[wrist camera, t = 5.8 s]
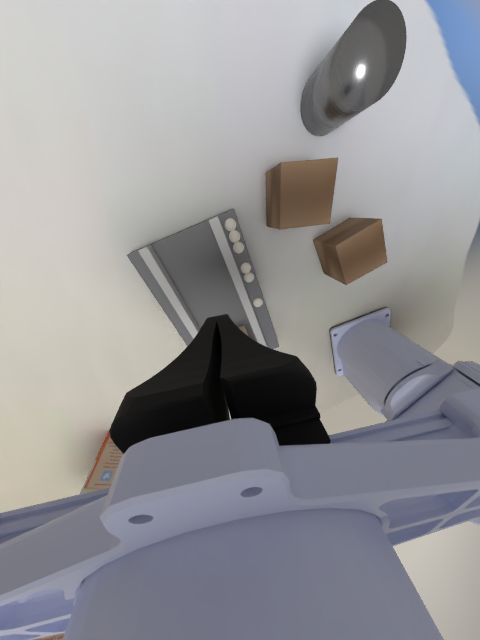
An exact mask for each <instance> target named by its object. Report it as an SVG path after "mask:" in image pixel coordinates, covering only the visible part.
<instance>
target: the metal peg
mask: <svg viewBox="0 0 480 640" xmlns="http://www.w3.org/2000/svg"><path fill="white" fill-rule="evenodd" d="M405 49H406V26H405V21H404V18H403V15H402V13H401V11H400V9H399V8H398V6H397V5H396V4H395V3H393V2H392V1H390V0H376V1H373V2H372V3H370V4H368V5H367V6H366V7H365V8H363V10H362V11H361V12H360V13H359V14H358V15H357V17H356V18H355V19H354V21H353V22H352V23H351V25H350V26H349V27H348V29H347V30H346V31H345V32H344V34H343V35H342V36H341V38H340V39H339V40H338V42H337V43H336V44H335V46H334V47H333V48H332V50H331V51H330V52H329V54H328V55H327V56H326V58H325V59H324V60H323V62H322V63H321V64H320V65H319V67H318V68H317V69H316V71H315V72H314V73H313V75H312V76H311V77H310V79H309V80H308V82H307V83H306V86H305V88H304V90H303V94H302V98H301V117H302V121H303V123H304V126H305V127H306V129H307V130H308V131H309V132H310V133H311V134H313V135H316V136H323V135H326V134H328V133H330V132H331V131H333V130H334V129H336V128H337V127H339V126H340V125H342V124H343V123H345V122H347V121H348V120H350V119H351V118H353V117H354V116H356V115H357V114H359V113H360V112H362V111H363V110H365V109H366V108H368V107H369V106H371V105H372V104H374V103H375V102H377V101H378V100H380V99H381V98H382V97H383V96H384V95H385V94H386V93H387V92H388V91H389V89H390V88H391V86H392V85H393V83H394V82H395V80H396V78H397V76H398V73H399V71H400V69H401V66H402V63H403V59H404V54H405Z"/></svg>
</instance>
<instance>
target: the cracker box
mask: <svg viewBox="0 0 480 640" xmlns="http://www.w3.org/2000/svg"><path fill="white" fill-rule="evenodd" d="M123 455H124V454H123V453H122V452H121V451H120V450H119V448H118V447H117V446H116V445H115V444H114V442H113V441H112V439H111V438H110V432H109V433H108V435H107V437H106V439H105V441H104V443H103V445H102V447H101V449H100V451H99V454H98V456H97V458H96V460H95V462H94V464H93V467H92V469H91V471H90V473H89V475H88V477H87V480H86V482H85V484H84V486H83V488H82V490H81V492H80V494H84V493H88V492H92V491H96V490H101V489H105V488H109V487H111V484H112V482H113V479H114V476H115V473H116V470H117V468H118V465H119V462H120V459H121V457H122V456H123ZM64 634H65V633H60V634H56V635H51V636H46V637H42V638H37V639H32V640H63V637H64Z"/></svg>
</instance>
